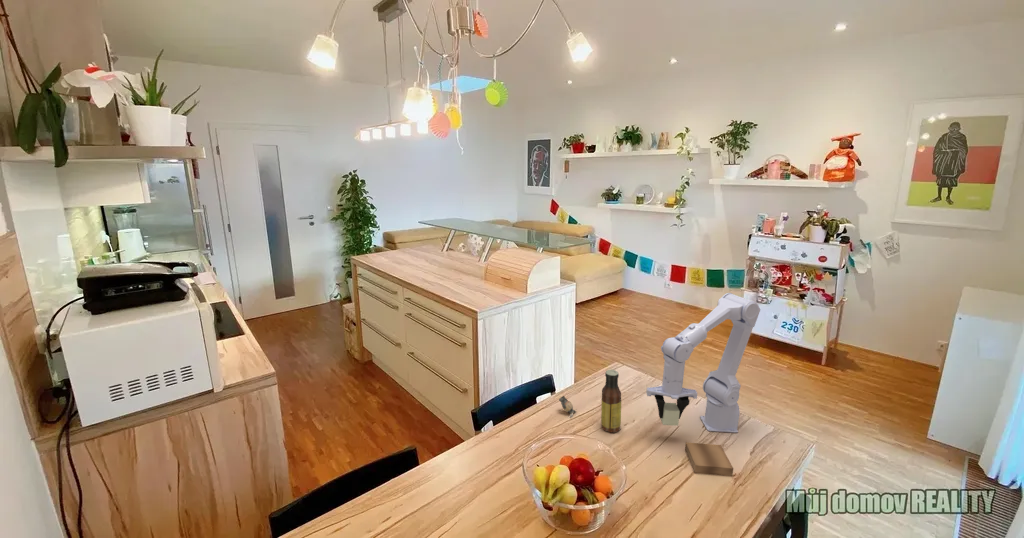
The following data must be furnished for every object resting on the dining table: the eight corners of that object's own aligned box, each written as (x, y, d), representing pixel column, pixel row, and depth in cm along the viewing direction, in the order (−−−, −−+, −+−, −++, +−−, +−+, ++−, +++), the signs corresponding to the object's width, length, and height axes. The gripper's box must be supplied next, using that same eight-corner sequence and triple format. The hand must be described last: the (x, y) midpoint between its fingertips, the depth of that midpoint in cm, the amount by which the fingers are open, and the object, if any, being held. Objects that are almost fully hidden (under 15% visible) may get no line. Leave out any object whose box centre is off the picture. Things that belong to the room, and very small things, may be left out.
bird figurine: (555, 414, 147) (556, 398, 146) (562, 408, 151) (563, 392, 150) (570, 419, 144) (571, 402, 143) (576, 412, 149) (577, 396, 148)
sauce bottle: (621, 424, 142) (625, 369, 137) (619, 435, 136) (623, 378, 131) (601, 420, 144) (604, 366, 139) (598, 431, 138) (601, 375, 133)
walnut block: (719, 453, 128) (720, 445, 127) (731, 477, 119) (733, 468, 118) (684, 450, 129) (685, 442, 129) (694, 474, 120) (695, 465, 119)
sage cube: (674, 417, 135) (675, 403, 133) (678, 425, 130) (679, 411, 129) (659, 416, 135) (660, 402, 134) (662, 424, 131) (664, 410, 130)
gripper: (651, 382, 126) (647, 423, 129) (702, 385, 124) (697, 426, 128) (646, 371, 133) (643, 410, 136) (694, 373, 131) (690, 412, 135)
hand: (669, 416), depth 132 cm, fingers closed on sage cube, 4 cm apart
